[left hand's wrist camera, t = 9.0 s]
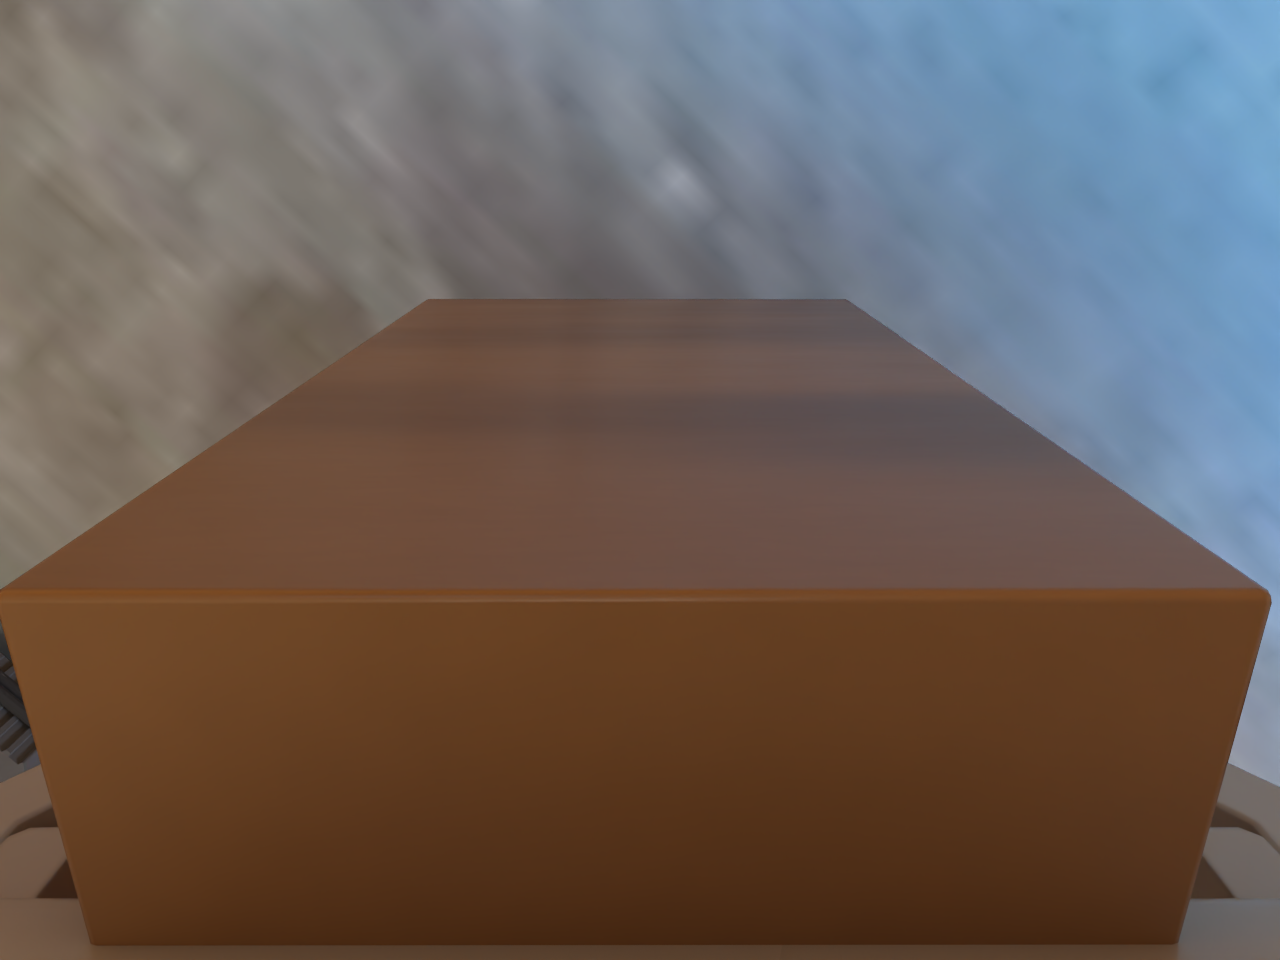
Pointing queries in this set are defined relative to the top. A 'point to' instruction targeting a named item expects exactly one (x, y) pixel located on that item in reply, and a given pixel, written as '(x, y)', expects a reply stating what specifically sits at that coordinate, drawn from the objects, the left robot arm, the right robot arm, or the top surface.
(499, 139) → the top surface
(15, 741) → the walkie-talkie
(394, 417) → the bar
